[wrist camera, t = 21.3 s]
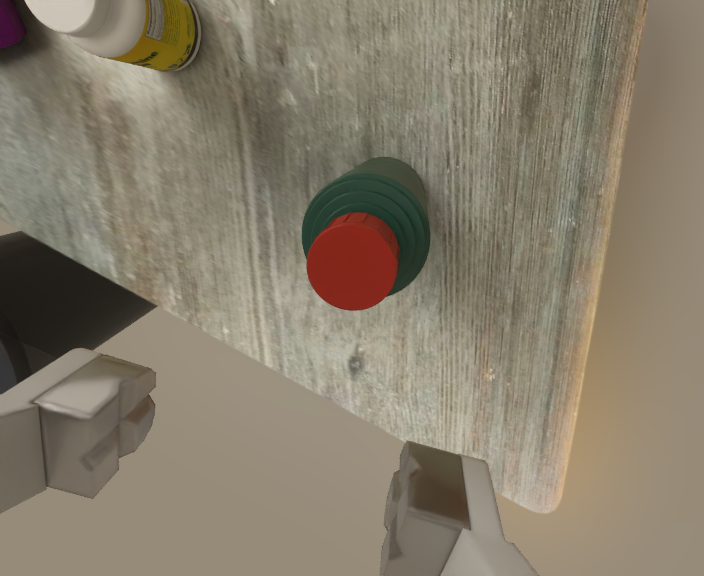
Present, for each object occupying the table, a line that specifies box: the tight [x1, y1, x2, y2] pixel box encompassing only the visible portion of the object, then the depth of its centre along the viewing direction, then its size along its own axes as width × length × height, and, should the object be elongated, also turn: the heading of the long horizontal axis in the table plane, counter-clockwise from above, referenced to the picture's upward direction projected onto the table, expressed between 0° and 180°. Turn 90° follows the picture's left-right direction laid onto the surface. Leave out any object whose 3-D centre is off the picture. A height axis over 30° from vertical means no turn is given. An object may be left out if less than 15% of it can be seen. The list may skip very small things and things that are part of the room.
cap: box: [307, 212, 400, 310], centre depth 19 cm, size 4×4×3 cm
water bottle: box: [302, 157, 430, 297], centre depth 26 cm, size 7×7×18 cm
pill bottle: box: [25, 0, 201, 72], centre depth 27 cm, size 6×6×11 cm
